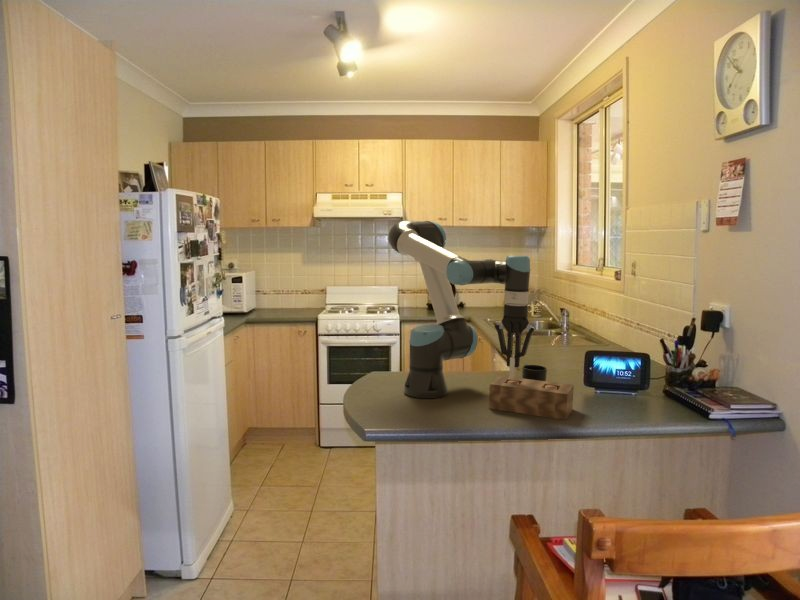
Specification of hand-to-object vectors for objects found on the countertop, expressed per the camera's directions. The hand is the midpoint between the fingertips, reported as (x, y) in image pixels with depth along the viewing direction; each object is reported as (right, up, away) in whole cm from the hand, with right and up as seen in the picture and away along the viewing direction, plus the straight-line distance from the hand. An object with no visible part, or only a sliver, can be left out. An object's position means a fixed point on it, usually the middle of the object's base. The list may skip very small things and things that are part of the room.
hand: (512, 376), depth 181 cm
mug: (+10, -8, +17) cm, 21 cm away
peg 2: (+11, -10, -4) cm, 15 cm away
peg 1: (0, -9, +1) cm, 9 cm away
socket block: (+6, -10, -2) cm, 12 cm away
